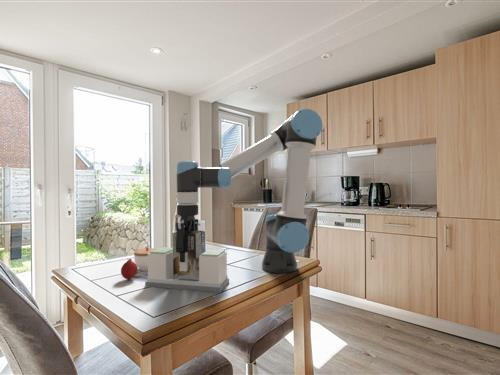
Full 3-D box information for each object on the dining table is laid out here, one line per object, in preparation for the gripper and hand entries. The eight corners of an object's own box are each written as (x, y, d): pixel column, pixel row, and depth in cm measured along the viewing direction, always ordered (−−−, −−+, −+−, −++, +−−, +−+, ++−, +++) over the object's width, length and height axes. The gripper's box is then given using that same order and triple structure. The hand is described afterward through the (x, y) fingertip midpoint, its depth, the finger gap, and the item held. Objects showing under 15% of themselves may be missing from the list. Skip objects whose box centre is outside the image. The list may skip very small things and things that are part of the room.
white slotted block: (229, 282, 103) (229, 249, 103) (220, 292, 93) (220, 255, 93) (160, 277, 109) (160, 246, 109) (145, 286, 99) (145, 252, 99)
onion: (127, 283, 102) (127, 261, 102) (117, 280, 105) (117, 259, 105) (140, 279, 107) (140, 258, 107) (131, 276, 110) (131, 256, 110)
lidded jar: (137, 273, 114) (137, 250, 114) (131, 267, 122) (131, 246, 122) (163, 269, 120) (163, 247, 120) (155, 264, 129) (155, 243, 129)
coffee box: (203, 274, 103) (203, 230, 103) (196, 279, 97) (196, 233, 97) (180, 272, 105) (180, 229, 105) (172, 278, 99) (171, 232, 99)
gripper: (189, 202, 111) (189, 260, 111) (164, 205, 92) (164, 275, 92) (207, 202, 110) (207, 261, 109) (185, 206, 91) (185, 277, 90)
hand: (188, 267), depth 101 cm, fingers closed on coffee box, 6 cm apart
